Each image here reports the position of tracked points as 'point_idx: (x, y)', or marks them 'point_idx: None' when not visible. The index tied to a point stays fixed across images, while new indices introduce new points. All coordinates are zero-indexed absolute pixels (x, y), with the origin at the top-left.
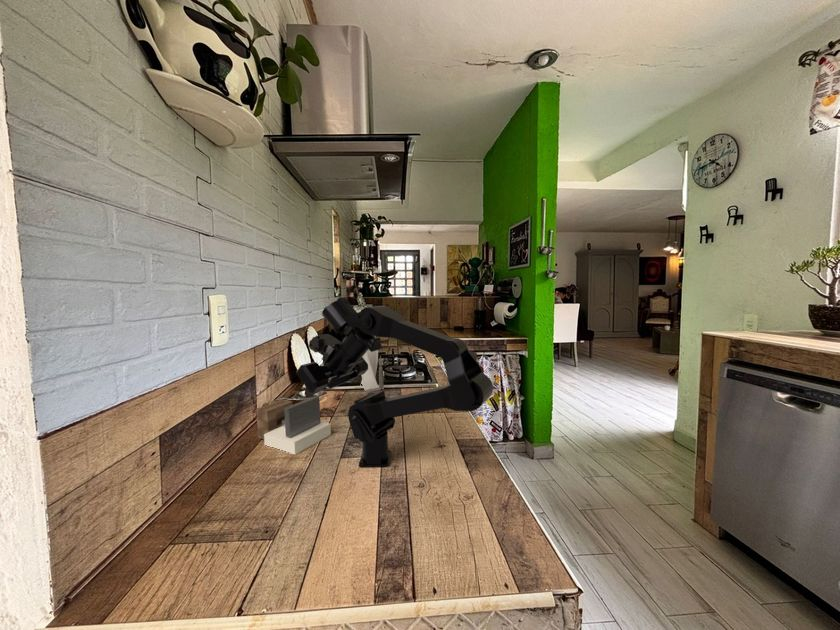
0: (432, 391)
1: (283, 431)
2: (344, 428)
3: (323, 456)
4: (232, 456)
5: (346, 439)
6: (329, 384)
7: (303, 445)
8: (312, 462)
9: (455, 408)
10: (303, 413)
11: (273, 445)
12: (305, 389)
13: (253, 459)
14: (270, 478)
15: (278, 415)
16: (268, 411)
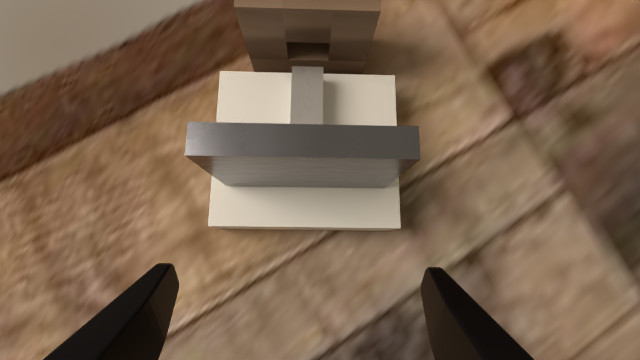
0: None
1: (265, 115)
2: (455, 238)
3: (248, 328)
4: (144, 62)
5: (385, 313)
6: (433, 290)
7: (255, 228)
8: (201, 324)
9: None
10: (292, 171)
11: None
12: (103, 310)
13: (151, 133)
14: (78, 276)
15: (297, 34)
16: (241, 10)
